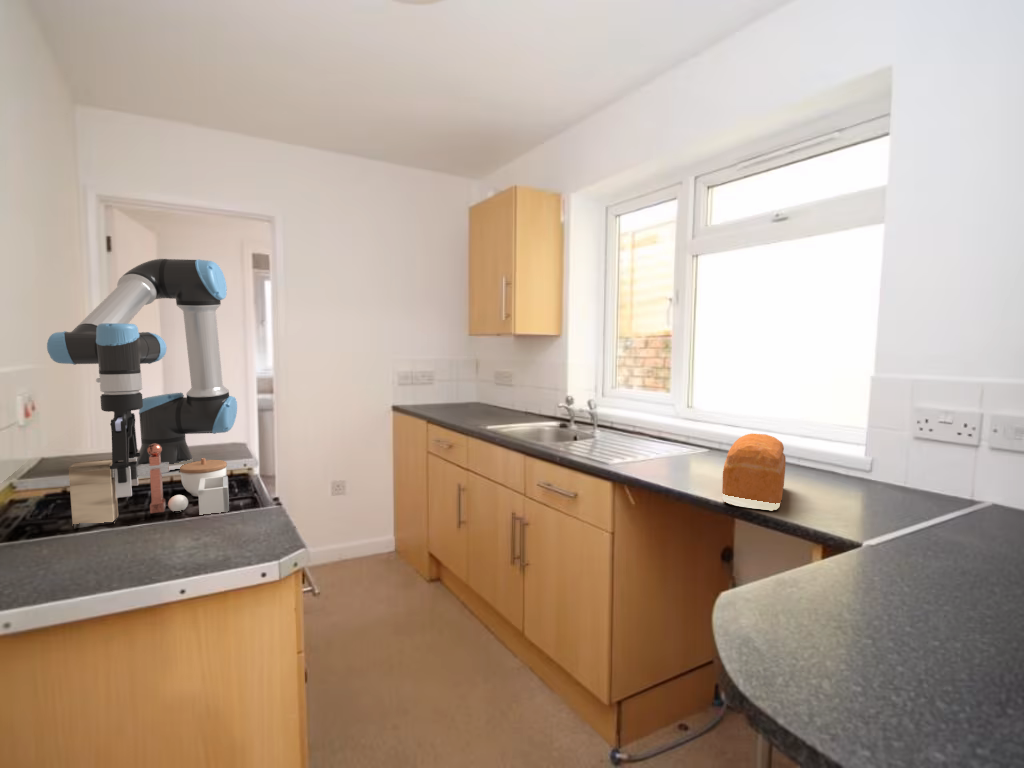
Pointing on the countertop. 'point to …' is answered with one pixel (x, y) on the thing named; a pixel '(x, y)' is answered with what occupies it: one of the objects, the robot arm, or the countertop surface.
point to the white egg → (177, 503)
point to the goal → (213, 495)
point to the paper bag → (93, 492)
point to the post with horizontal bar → (152, 476)
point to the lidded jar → (200, 473)
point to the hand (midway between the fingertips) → (127, 490)
